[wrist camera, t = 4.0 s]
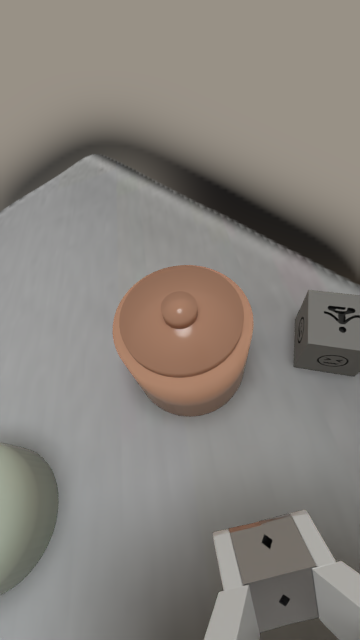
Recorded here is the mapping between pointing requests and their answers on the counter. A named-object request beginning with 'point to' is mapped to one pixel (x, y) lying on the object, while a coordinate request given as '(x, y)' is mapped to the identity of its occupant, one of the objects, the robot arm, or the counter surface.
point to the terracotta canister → (185, 338)
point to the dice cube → (328, 333)
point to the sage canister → (24, 512)
